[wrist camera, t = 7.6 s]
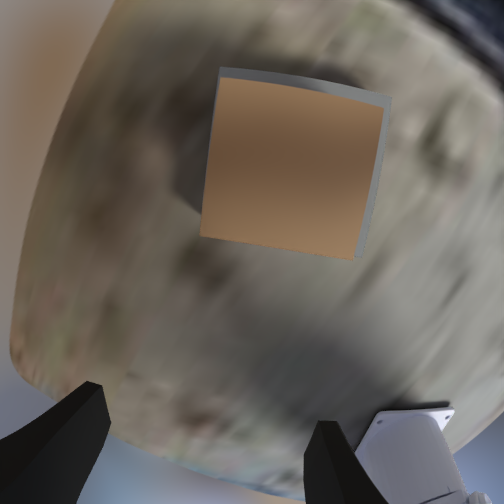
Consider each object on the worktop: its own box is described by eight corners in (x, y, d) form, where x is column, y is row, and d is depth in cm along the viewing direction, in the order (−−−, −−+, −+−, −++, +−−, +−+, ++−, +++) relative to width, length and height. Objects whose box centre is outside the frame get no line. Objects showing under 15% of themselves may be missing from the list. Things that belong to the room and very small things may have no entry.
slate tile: (348, 239, 18) (361, 257, 15) (210, 219, 18) (199, 234, 16) (373, 102, 16) (392, 97, 13) (228, 78, 16) (219, 66, 13)
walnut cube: (327, 222, 15) (352, 260, 10) (221, 204, 15) (199, 235, 10) (347, 117, 13) (384, 107, 9) (237, 97, 13) (220, 77, 9)
